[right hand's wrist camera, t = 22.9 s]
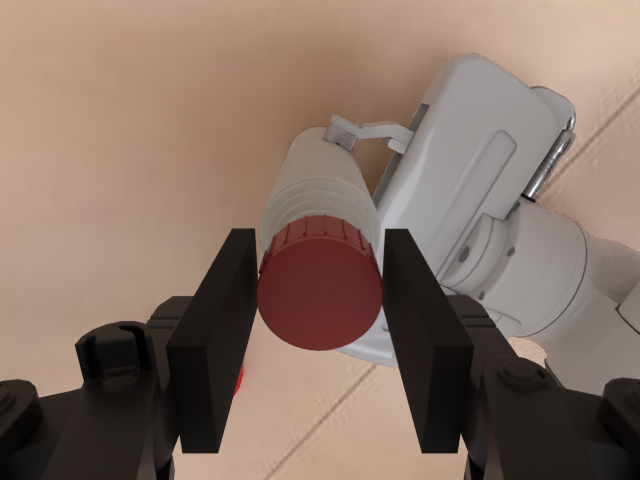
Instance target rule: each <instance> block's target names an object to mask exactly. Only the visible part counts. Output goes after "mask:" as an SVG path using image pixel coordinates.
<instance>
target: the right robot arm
mask: <svg viewBox="0 0 640 480" xmlns="http://www.w3.org/2000/svg"><path fill="white" fill-rule="evenodd" d="M382 280H383V283H382V288H383V301H382V307H383V310H384V314H385V318H386V322H387V325H388V329H389V333H390V337H391V340H392V344H393V348H394V351H395V355H396V359H397V363H398V366H399V370H400V374H401V377H402V381H403V385H404V389H405V392H406V396H407V400H408V403H409V407H410V411H411V415H412V418H413V422H414V426H415V430H416V433H417V437H418V441H419V444H420V448H421V452H422V453H458V447H459V441H460V434H461V435H462V437H463V440H464V442H465V445H466V448H467V450H468V456H467V462H466V467H465V473H464V479H463V480H640V379H633V378H624V377H622V378H616V379H611V380H610V381H609V382H608V383H607V384H605V387H604V390H603V393H602V396H599V395H594V394H590V393H585V392H580V391H575V390H571V389H567V388H563V387H560V386H558V385H557V382H556V380H555V379H554V378H553V376H552V375H551V374H550V372H548V371H547V370H546V369H544V368H543V367H542V366H540V365H539V364H537V363H535V362H532V361H530V360H528V359H526V358H521V357H518V356H517V354H516V353H515V351H514V350H513V348H512V347H511V346H510V344H509V343H508V341H507V340H506V338H505V337H504V336H503V334H502V333H501V331H500V330H499V328H496V324H495V323H494V321H493V320H492V318H490V316H489V314H488V313H487V311H486V310H485V309H484V307H483V306H482V304H480V303H479V302H477V301H476V300H474V299H473V298H471V297H470V296H468V295H445V293H444V291H443V290H442V288H441V286H440V284H439V283H438V281H437V279H436V277H435V276H434V274H433V272H432V270H431V269H430V267H429V265H428V263H427V262H426V260H425V258H424V256H423V255H422V253H421V251H420V249H419V248H418V246H417V244H416V242H415V240H414V239H413V237H412V235H411V233H410V232H409V230H408V229H385V237H384V254H383V271H382ZM257 283H258V271H257V254H256V237H255V229H232V230H231V232H230V233H229V235H228V237H227V239H226V240H225V242H224V244H223V246H222V248H221V249H220V251H219V253H218V255H217V256H216V258H215V260H214V262H213V263H212V265H211V267H210V269H209V270H208V272H207V274H206V276H205V277H204V279H203V281H202V283H201V284H200V286H199V288H198V290H197V291H196V293H195V295H194V296H172V297H171V298H170V299H168V300H167V301H165V302H164V303H162V304H161V305H159V306H158V307H157V309H156V310H155V312H154V313H153V315H152V316H151V319H149V320H148V322H147V323H146V324H144V323H140V322H136V321H120V322H115V323H110V324H106V325H104V326H101V327H98V328H96V329H93V330H92V331H90V332H89V333H87V334H85V335H84V336H82V337H81V338H80V339H79V341H78V342H77V343H76V344H75V348H76V352H77V356H78V359H79V363H80V367H81V371H82V375H83V379H84V383H83V385H82V388H80V389H76V390H73V391H69V392H64V393H59V394H54V395H50V396H45V397H40V398H39V397H38V393H37V390H36V387H35V386H34V385H33V384H32V383H31V382H29V381H25V380H19V379H16V380H6V381H1V382H0V480H174V474H175V469H174V462H173V456H172V452H173V450H174V447H175V445H176V442H177V439H178V437H179V434H180V441H181V447H182V453H218V452H219V448H220V444H221V441H222V437H223V433H224V430H225V426H226V422H227V418H228V415H229V411H230V407H231V403H232V400H233V396H234V392H235V389H236V385H237V381H238V377H239V374H240V370H241V366H242V363H243V359H244V355H245V351H246V348H247V344H248V340H249V337H250V333H251V329H252V325H253V322H254V318H255V314H256V310H257V307H258V305H257V299H256V288H257Z"/></svg>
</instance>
